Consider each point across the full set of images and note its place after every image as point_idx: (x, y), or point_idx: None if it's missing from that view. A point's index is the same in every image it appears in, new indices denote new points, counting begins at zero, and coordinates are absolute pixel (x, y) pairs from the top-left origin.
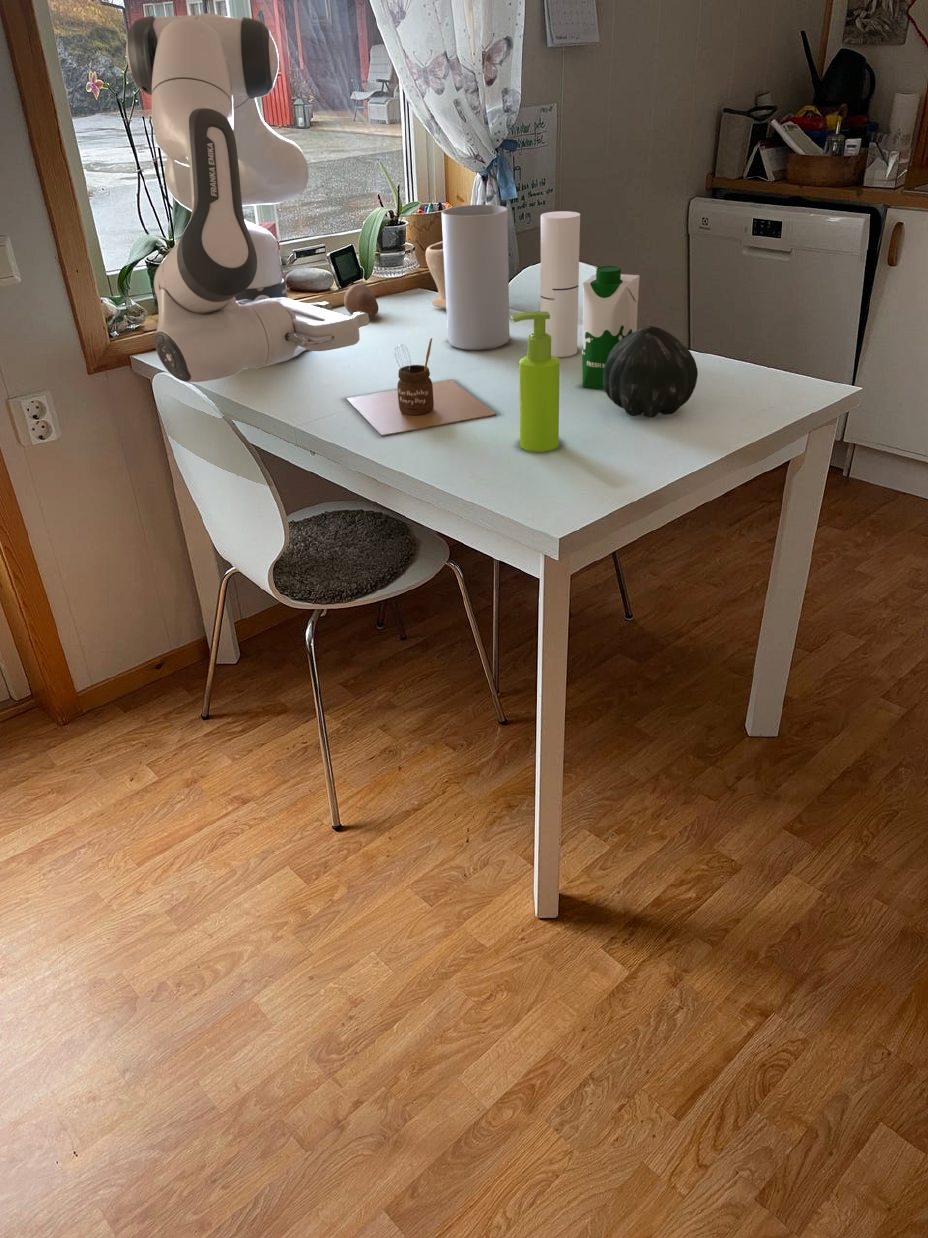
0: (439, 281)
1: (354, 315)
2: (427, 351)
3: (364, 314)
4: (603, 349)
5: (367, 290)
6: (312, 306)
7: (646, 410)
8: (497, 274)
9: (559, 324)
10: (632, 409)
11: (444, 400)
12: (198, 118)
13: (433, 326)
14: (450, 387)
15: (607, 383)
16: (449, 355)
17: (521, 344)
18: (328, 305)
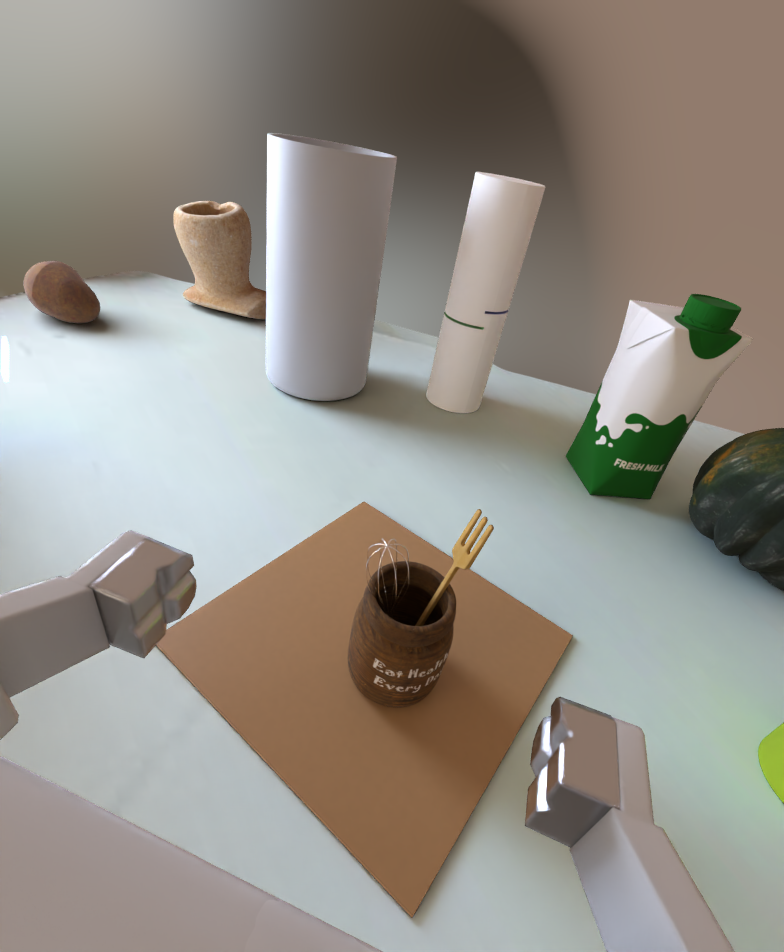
0: (203, 267)
1: (672, 889)
2: (475, 555)
3: (644, 762)
4: (661, 444)
5: (73, 274)
6: (100, 909)
7: None
8: (377, 276)
9: (480, 367)
10: None
11: None
12: None
13: (212, 343)
14: (385, 532)
15: (754, 538)
16: (295, 417)
17: (384, 384)
18: (174, 575)
